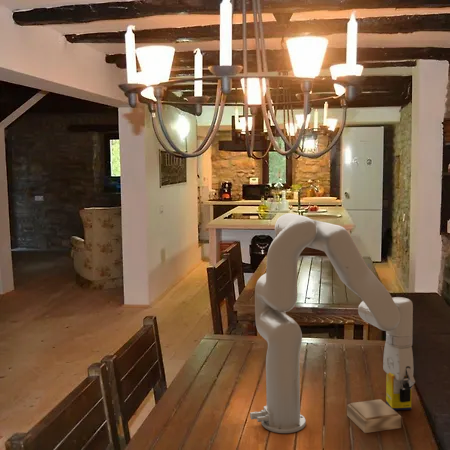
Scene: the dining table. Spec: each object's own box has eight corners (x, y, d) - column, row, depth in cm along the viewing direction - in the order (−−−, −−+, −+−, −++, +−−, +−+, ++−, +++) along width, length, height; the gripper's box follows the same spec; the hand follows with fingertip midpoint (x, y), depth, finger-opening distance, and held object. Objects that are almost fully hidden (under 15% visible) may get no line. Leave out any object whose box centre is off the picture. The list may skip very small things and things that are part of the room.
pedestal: (364, 433, 153) (364, 419, 153) (347, 415, 164) (347, 402, 164) (401, 427, 156) (401, 414, 155) (381, 411, 167) (381, 398, 166)
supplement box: (404, 401, 173) (405, 367, 171) (411, 410, 167) (412, 374, 165) (385, 402, 172) (385, 368, 171) (391, 411, 166) (392, 375, 165)
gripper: (373, 331, 175) (373, 386, 177) (403, 349, 158) (402, 410, 160) (395, 329, 176) (394, 384, 178) (427, 347, 160) (426, 407, 162)
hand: (398, 396), depth 169 cm, fingers closed on supplement box, 6 cm apart
